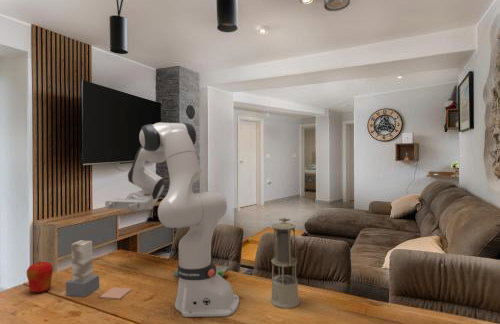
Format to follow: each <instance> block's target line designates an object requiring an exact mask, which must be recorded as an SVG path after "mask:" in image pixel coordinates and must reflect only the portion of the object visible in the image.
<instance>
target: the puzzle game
mask: <svg viewBox="0 0 500 324" xmlns="http://www.w3.org/2000/svg"><path fill="white" fill-rule="evenodd" d="M177 270H178V269H176V270H175V271H174V272H173V275H174V277H175V278H176V279H177V280H178V275H177ZM229 271H230V267H229V266H222V265H217V268H216V273H217V274H218V275H220V276H221V277H222V278H223V277H224V276H225V274H227V273H228V272H229Z"/></svg>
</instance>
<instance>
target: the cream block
mask: <svg viewBox="0 0 500 324" xmlns="http://www.w3.org/2000/svg"><path fill="white" fill-rule="evenodd" d="M70 245H71V247H70V248H71V273H72V274H71V276H72V277H71V279H72V281H82V282H85V281H86V280H88V279H90V278H91V277H93V275H94V264H93V263H94V262H93V261H94V260H93V259H94V258H93V256H94V255H93V241H92V240H84V239H83V240H78V241H76V242H73V243H71V244H70Z"/></svg>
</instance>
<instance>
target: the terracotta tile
mask: <svg viewBox="0 0 500 324" xmlns="http://www.w3.org/2000/svg"><path fill="white" fill-rule="evenodd" d="M132 290H133V289H132V288H128V287H127V288H126V287H117V286H115V287H114V286H113V287H111V288H110V289H109V290H107V291H106V292H104V293H103V294H101V295H100V296H99V299H104V300H105V299H106V300H119V301H120V300H122V299H123V298H124V297H125V296H127V295H128V294H129V293H131V292H132Z"/></svg>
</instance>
